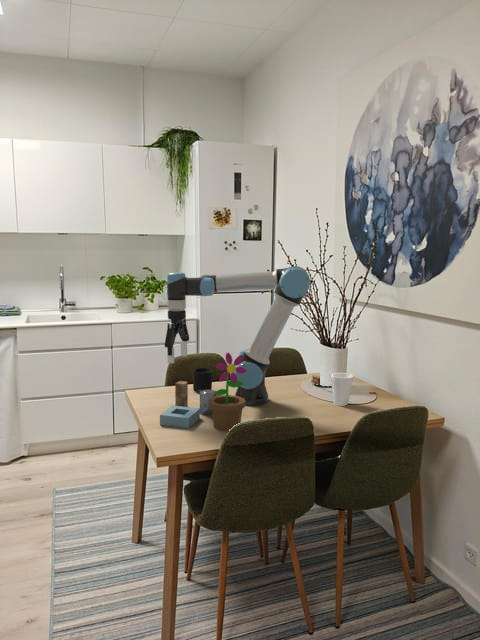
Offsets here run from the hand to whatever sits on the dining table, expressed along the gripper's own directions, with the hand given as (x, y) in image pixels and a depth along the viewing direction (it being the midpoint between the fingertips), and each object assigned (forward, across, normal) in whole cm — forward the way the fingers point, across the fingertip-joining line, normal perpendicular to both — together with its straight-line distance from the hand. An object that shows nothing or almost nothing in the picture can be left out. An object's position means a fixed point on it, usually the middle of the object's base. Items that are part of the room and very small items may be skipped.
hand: (177, 359), depth 216 cm
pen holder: (+21, -25, +1) cm, 33 cm away
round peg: (+21, +4, +15) cm, 26 cm away
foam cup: (+22, -27, +66) cm, 75 cm away
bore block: (+21, +17, +8) cm, 28 cm away
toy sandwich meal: (+22, -57, +55) cm, 82 cm away
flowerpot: (+21, +15, +27) cm, 38 cm away
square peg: (+21, +1, +2) cm, 21 cm away
